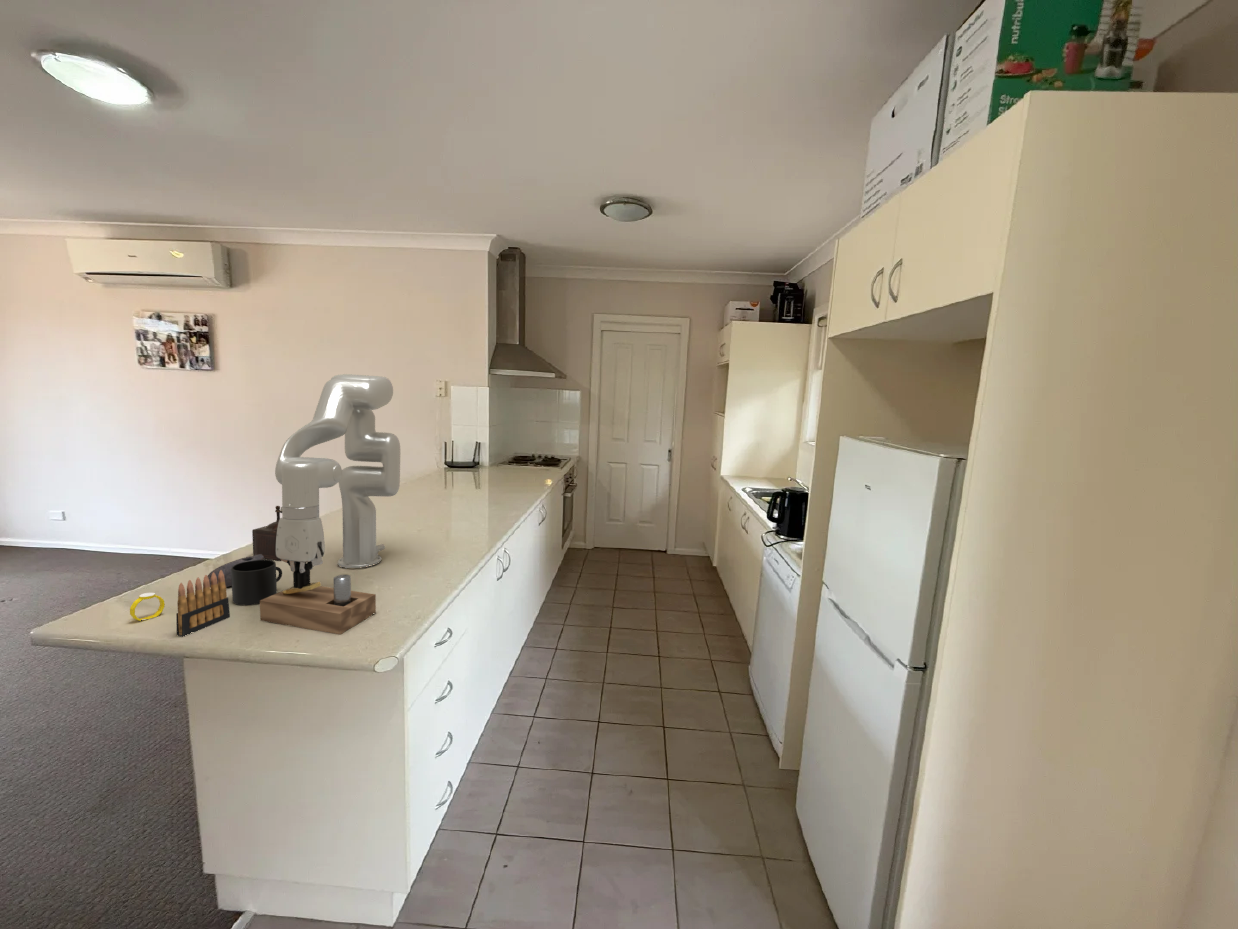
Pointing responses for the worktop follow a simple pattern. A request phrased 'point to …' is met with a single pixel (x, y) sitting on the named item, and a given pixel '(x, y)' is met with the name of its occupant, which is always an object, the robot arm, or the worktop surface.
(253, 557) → the perforated stone tool
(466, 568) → the worktop surface
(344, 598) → the steel pin
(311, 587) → the bar
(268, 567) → the mug
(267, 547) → the manual coffee grinder
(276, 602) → the walnut block
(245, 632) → the worktop surface
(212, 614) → the ammunition clip
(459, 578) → the worktop surface
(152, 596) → the yellow ring
